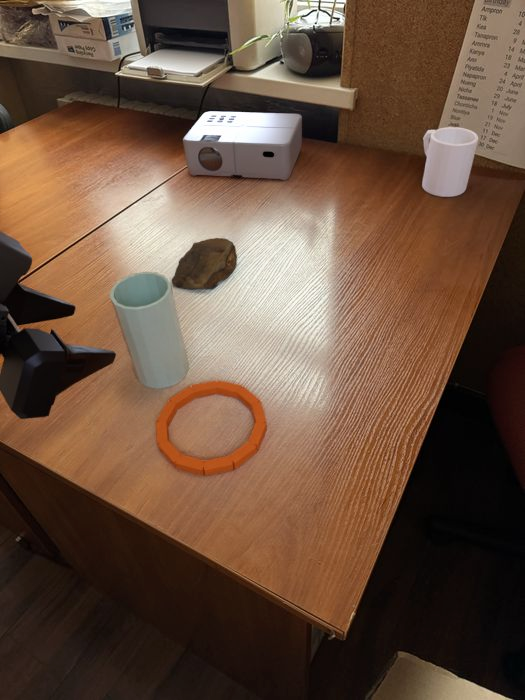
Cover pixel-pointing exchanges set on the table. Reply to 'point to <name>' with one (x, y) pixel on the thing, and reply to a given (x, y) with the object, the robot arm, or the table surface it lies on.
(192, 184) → the table surface
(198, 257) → the decorative stone
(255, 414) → the ring
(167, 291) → the cup
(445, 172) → the mug
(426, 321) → the table surface
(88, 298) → the table surface
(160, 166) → the table surface
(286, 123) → the projector
